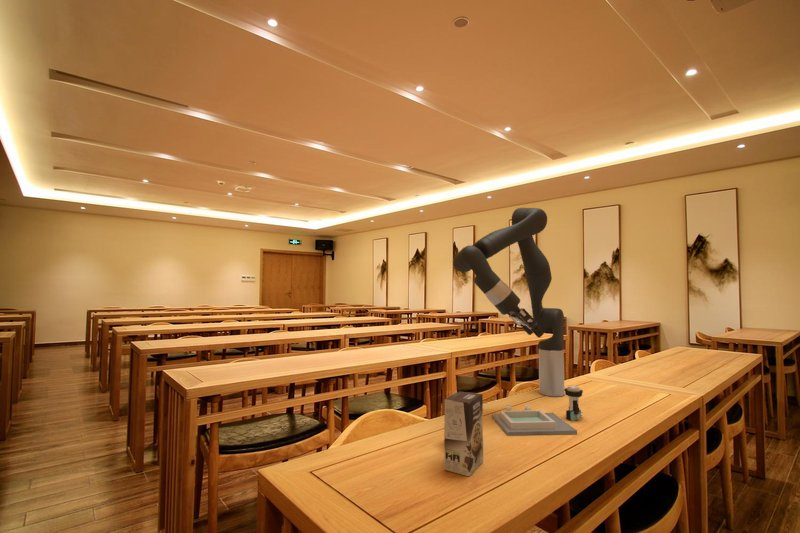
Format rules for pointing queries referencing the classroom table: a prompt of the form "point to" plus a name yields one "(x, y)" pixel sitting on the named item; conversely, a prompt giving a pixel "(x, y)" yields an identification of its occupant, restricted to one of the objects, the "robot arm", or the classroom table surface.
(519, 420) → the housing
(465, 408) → the coffee box
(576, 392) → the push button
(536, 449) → the classroom table surface
